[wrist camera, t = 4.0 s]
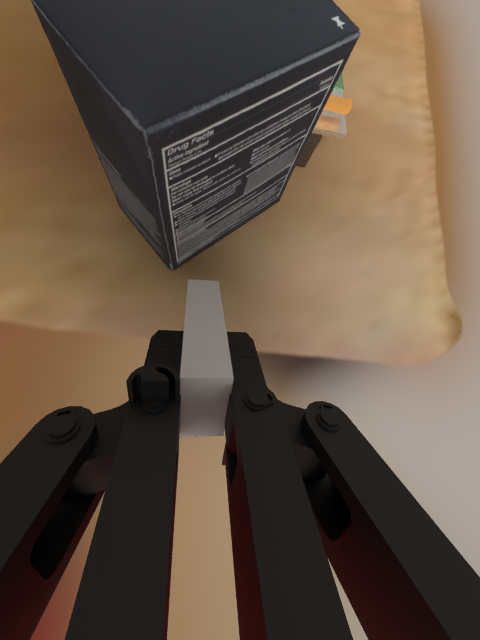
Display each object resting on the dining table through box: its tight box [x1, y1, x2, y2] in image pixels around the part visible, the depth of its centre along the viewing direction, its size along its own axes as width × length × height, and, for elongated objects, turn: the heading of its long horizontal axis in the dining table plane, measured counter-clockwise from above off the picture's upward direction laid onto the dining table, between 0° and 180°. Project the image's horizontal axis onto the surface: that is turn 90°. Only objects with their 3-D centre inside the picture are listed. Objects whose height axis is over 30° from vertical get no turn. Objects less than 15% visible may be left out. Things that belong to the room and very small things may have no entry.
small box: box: [31, 0, 361, 270], centre depth 14 cm, size 11×6×10 cm, turn 130°
